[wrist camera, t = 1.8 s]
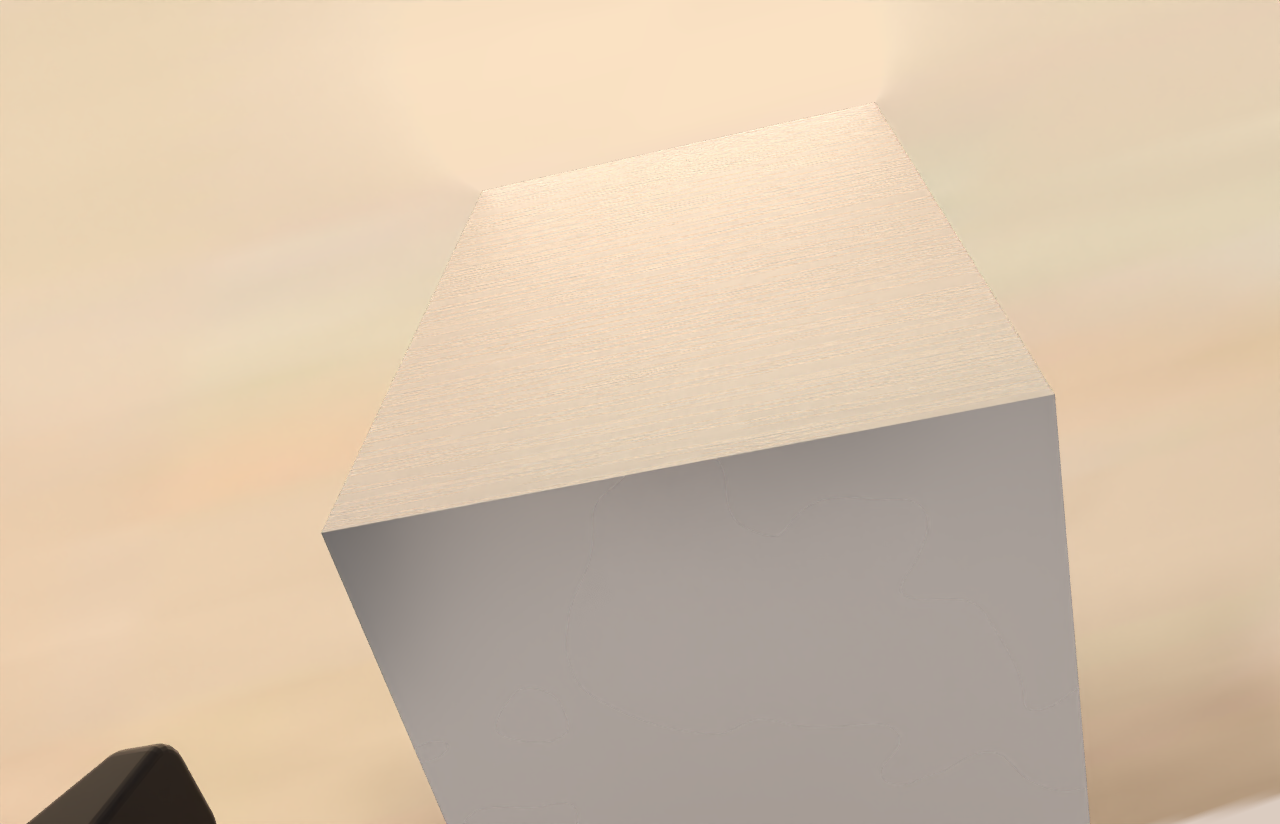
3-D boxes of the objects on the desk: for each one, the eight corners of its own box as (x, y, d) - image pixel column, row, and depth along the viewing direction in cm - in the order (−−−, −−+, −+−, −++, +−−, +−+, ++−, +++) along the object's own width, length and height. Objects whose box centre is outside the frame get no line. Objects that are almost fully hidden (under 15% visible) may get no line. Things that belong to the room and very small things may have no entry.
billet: (874, 101, 13) (1055, 394, 7) (924, 449, 15) (1097, 916, 9) (482, 190, 14) (321, 533, 7) (581, 513, 16) (519, 993, 9)
